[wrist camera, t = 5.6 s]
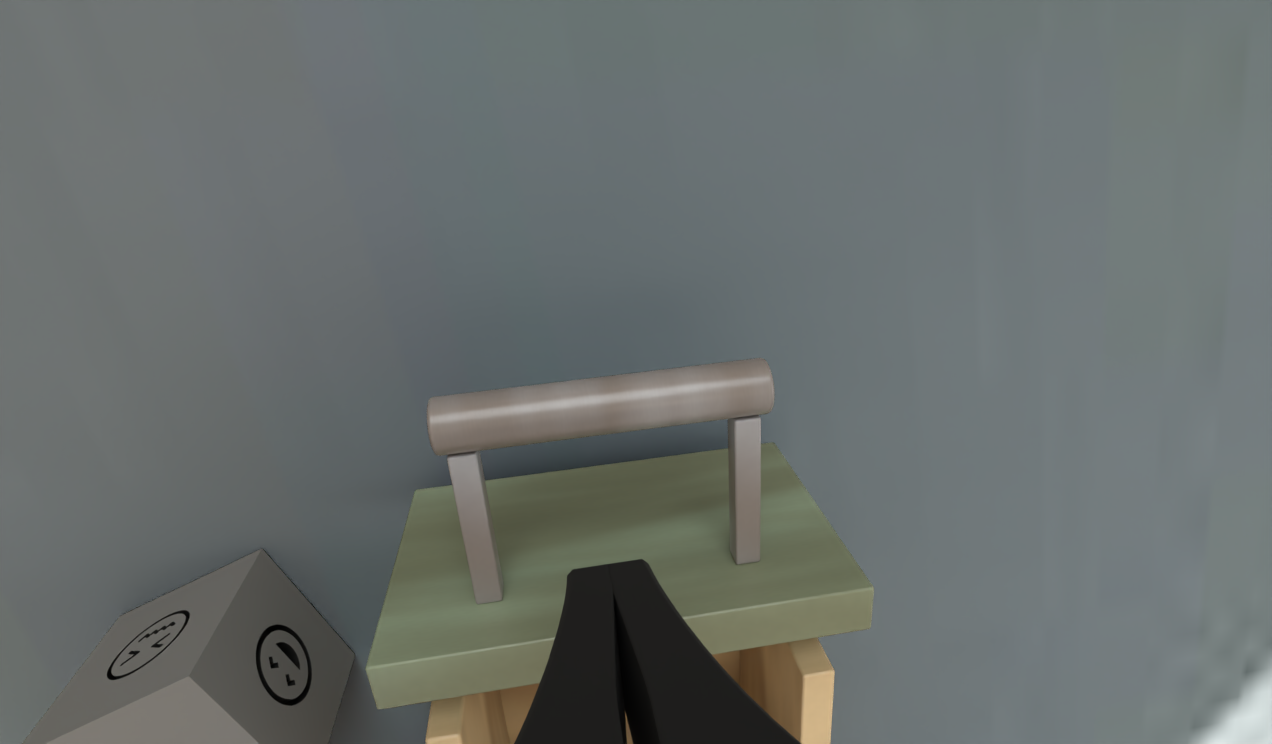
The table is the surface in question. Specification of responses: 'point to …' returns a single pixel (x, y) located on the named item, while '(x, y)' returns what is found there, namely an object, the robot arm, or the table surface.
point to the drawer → (612, 551)
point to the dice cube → (209, 668)
